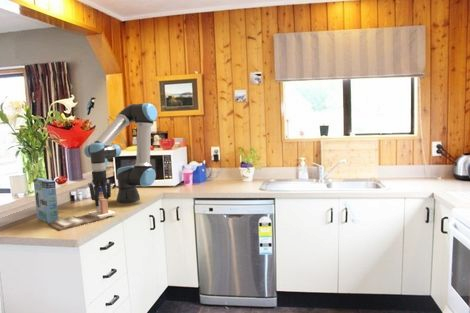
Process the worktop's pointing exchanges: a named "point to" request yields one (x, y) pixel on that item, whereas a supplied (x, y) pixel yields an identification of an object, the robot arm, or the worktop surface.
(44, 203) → the blue cereal box
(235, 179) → the worktop surface
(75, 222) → the board
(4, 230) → the worktop surface
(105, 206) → the pink block on base
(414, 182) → the worktop surface
